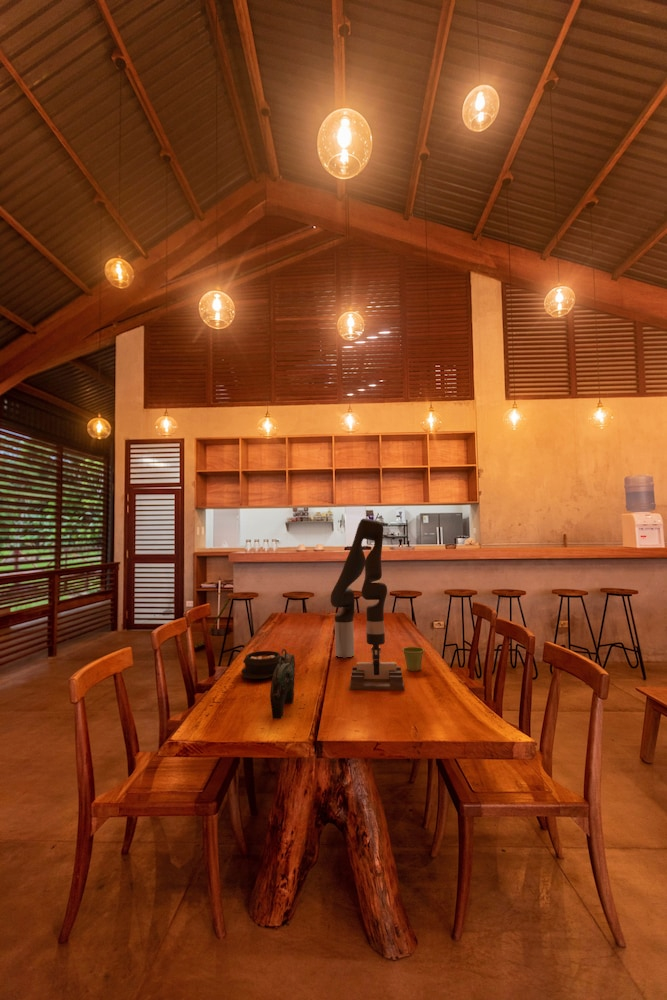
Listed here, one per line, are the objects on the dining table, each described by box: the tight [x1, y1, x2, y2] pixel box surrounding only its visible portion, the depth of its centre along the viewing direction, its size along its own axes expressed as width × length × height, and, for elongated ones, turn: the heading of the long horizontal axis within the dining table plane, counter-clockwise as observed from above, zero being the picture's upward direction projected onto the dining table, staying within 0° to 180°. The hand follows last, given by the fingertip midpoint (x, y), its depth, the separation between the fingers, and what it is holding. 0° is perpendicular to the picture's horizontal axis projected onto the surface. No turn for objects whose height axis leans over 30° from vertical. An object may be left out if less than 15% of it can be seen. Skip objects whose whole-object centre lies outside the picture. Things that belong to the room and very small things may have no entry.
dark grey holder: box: [349, 666, 405, 691], centre depth 190 cm, size 14×21×5 cm, turn 85°
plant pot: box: [402, 646, 425, 672], centre depth 210 cm, size 9×9×9 cm
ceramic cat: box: [269, 648, 296, 720], centre depth 166 cm, size 20×6×20 cm, turn 171°
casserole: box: [240, 650, 281, 680], centre depth 207 cm, size 25×19×8 cm
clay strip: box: [356, 661, 397, 679], centre depth 194 cm, size 2×16×6 cm, turn 85°
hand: (376, 671), depth 194 cm, fingers open, 8 cm apart
